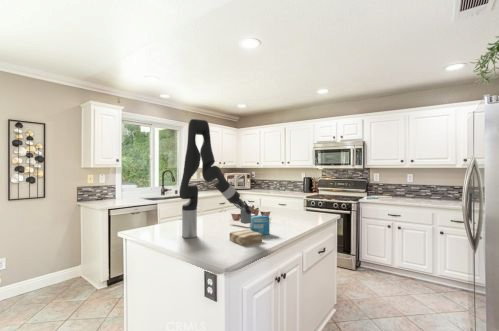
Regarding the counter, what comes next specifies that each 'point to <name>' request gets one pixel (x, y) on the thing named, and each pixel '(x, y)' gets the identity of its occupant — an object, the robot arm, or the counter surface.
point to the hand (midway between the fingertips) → (247, 212)
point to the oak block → (245, 237)
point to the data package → (260, 224)
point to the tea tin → (245, 216)
